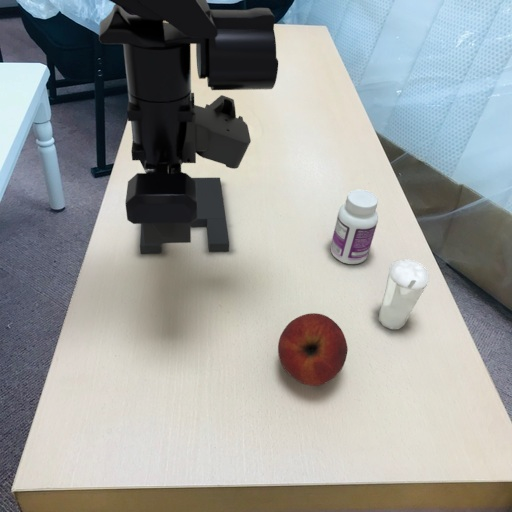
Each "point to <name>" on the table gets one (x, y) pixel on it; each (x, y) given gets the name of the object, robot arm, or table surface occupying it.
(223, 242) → the base pad
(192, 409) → the table surface
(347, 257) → the pill bottle
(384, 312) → the milkshake
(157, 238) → the black block
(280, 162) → the table surface
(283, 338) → the apple
